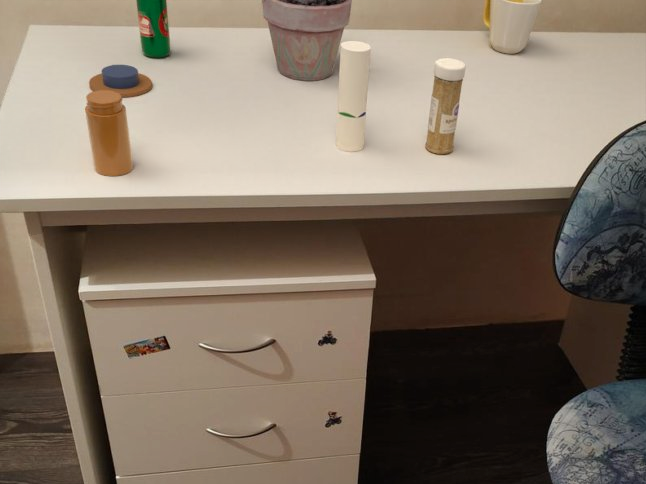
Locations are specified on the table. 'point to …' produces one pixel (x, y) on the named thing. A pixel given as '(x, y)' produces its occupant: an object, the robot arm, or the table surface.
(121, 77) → the jar lid
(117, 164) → the jar
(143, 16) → the soda can
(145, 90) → the coaster
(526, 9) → the mug
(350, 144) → the tube
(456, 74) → the sprinkles bottle
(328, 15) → the potted plant
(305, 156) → the table surface
